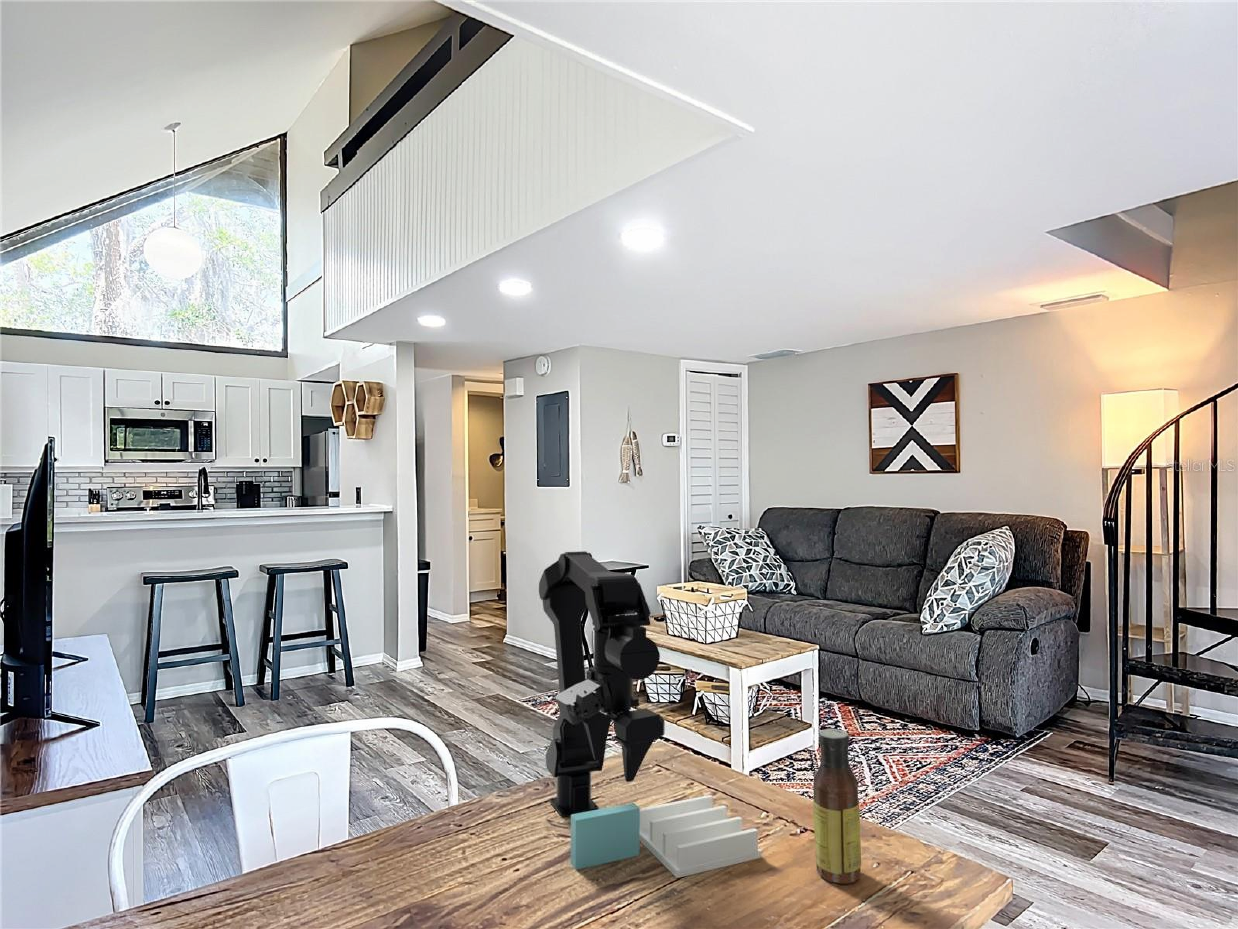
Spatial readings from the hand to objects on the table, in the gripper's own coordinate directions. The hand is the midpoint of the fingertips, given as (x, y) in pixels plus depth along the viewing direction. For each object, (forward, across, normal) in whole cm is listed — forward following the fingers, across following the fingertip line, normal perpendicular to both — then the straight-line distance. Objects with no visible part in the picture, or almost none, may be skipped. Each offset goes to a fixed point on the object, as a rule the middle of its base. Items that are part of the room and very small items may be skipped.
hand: (613, 770), depth 111 cm
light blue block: (+13, -1, -1) cm, 13 cm away
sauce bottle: (+13, +19, +25) cm, 34 cm away
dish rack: (+13, +3, +13) cm, 19 cm away
